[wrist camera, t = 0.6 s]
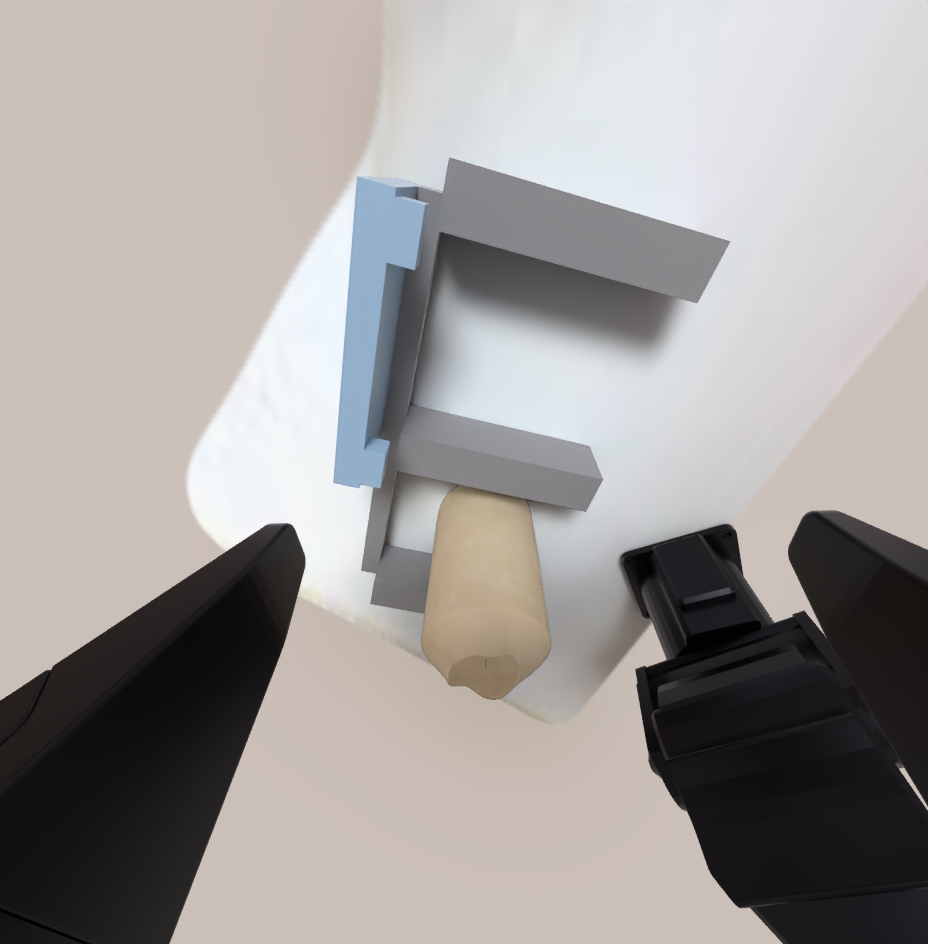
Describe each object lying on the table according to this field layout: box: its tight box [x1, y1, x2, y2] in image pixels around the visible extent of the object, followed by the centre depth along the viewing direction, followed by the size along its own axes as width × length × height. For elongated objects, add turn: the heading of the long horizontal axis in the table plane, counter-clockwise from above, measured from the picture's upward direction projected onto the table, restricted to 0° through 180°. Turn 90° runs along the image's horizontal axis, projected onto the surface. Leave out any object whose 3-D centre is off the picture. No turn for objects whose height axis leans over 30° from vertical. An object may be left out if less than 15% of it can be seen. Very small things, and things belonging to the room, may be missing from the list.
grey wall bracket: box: [333, 158, 730, 613], centre depth 19 cm, size 22×12×6 cm, turn 166°
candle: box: [421, 485, 551, 700], centre depth 21 cm, size 6×6×10 cm
